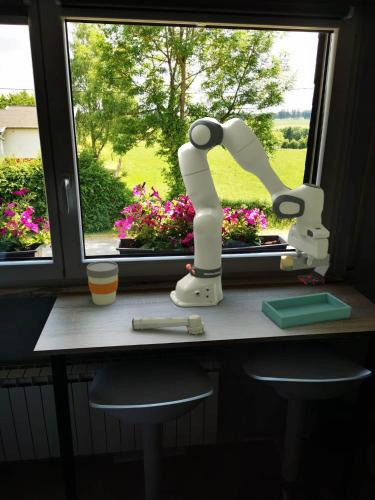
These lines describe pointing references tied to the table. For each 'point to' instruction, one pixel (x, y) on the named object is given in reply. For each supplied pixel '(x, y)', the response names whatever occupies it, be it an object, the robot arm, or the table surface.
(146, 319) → the white flashlight
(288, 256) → the strut
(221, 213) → the robot arm
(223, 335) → the table surface
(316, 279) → the handheld gaming console
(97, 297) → the reusable coffee cup
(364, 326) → the table surface
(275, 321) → the bin
